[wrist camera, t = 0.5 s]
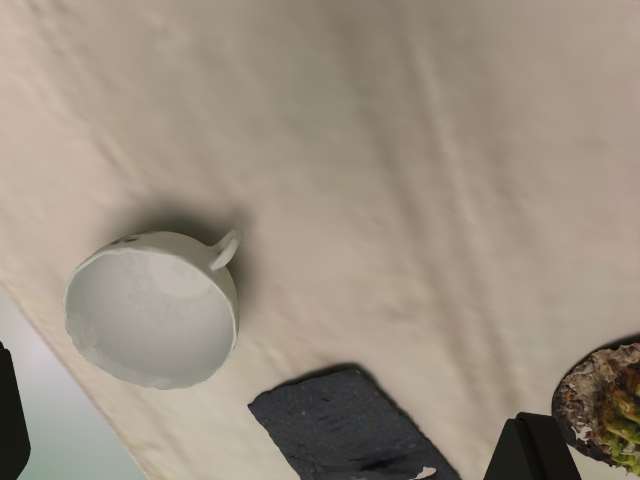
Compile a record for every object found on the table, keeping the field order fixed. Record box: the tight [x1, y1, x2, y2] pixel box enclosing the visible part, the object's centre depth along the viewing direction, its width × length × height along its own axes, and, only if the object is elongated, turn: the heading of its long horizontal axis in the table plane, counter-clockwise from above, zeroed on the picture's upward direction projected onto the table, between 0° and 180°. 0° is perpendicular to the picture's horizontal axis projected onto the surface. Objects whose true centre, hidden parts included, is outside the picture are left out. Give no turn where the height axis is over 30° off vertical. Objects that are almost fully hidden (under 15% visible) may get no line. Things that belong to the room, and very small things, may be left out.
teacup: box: [62, 229, 243, 390], centre depth 40 cm, size 15×12×8 cm
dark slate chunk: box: [247, 369, 460, 480], centre depth 50 cm, size 15×22×5 cm
